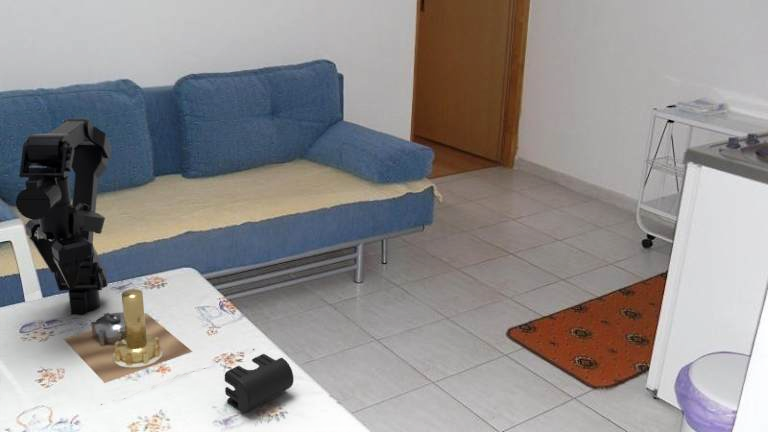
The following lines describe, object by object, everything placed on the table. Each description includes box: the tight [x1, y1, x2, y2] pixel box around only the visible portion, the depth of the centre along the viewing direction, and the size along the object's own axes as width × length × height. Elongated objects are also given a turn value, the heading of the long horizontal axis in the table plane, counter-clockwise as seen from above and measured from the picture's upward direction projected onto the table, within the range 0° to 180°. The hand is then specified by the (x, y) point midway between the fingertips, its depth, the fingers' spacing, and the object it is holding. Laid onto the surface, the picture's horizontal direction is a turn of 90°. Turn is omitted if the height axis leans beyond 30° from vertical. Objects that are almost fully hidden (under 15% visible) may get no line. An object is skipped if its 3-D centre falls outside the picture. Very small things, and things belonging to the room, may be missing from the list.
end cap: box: [224, 353, 295, 413], centre depth 132 cm, size 10×7×7 cm
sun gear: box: [90, 312, 126, 347], centre depth 149 cm, size 9×8×4 cm
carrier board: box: [63, 312, 193, 384], centre depth 147 cm, size 20×17×2 cm
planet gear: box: [114, 288, 160, 365], centre depth 141 cm, size 8×8×12 cm
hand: (63, 279), depth 146 cm, fingers open, 9 cm apart
